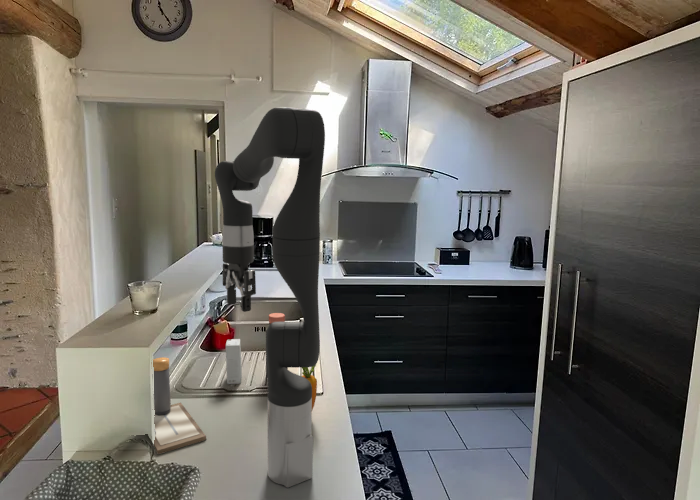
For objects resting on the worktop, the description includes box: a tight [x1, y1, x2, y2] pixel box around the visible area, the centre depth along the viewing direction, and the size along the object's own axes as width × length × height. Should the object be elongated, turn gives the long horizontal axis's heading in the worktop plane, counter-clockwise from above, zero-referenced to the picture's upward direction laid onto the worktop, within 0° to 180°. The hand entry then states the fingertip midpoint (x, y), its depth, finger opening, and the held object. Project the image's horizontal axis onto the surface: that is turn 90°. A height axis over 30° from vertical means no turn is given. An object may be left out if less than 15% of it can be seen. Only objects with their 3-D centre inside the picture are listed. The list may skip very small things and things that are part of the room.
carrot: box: [301, 364, 318, 411], centre depth 125 cm, size 5×5×15 cm
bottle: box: [265, 312, 289, 380], centre depth 149 cm, size 7×7×20 cm
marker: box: [152, 357, 172, 416], centre depth 124 cm, size 4×4×14 cm
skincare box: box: [225, 338, 243, 385], centre depth 147 cm, size 6×4×12 cm
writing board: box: [153, 402, 207, 455], centre depth 119 cm, size 20×11×2 cm, turn 36°
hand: (238, 307), depth 121 cm, fingers open, 8 cm apart
